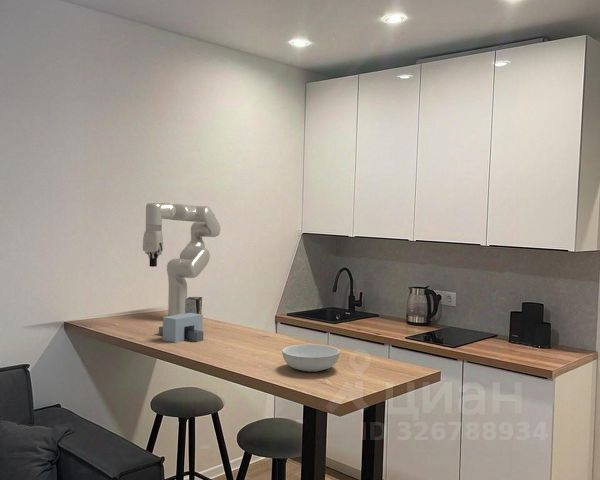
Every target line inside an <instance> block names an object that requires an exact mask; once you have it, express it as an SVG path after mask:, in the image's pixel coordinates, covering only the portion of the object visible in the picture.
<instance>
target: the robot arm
mask: <svg viewBox="0 0 600 480" xmlns="http://www.w3.org/2000/svg"><path fill="white" fill-rule="evenodd" d="M163 220H172V221H179V222H180V221H182V222H191V223H192V224H191V226H190V241H189V243H188V244H187V245H186V246H185V247H184V248H183V250H181V252H180V253H179V258H172V259H171V260H169V261H168V262H167V265H166V272H167V278H168V297H167V298H168V302H167V303H168V304H167V307H168V309H167V310H168V311H167V312H168V313H167V316H173V315H179V314H185V299H187V298H188V284H187V280H186V279H195V278H196V277H198V276H199V275H200V274H201V272H203V270H204V269H206V266H207V265H208V264H209V261H210V258H211V254H210V251H209V250H208V248H206V247H205V246H206V245H205V242H204V240H203V238H204V237H205V238H216V237H218V236H220V233H221V225H220V222H219V221H218V219H217V217H216V215H215V214H214V212H213V210H212V209H211V208H210V206H209V207H208V205H207V206H205V205H188V204H182V203H179V204H178V203H169V202H168V203H167V202H164V203H163V202H150V203H149V202H148V203H146V205H145V231H144V233H143V237H142V251H143V252H144V253H145V254H146V255H147V256H148V259H149V267H150V268H151V267H152V268H153V267H155V268H156V267H157V266H158V259H159V257H160V256H162V254H163V253H162V252H163V250H164V237H163V232H162V225H163V224H162V223H163V222H162V221H163Z"/></svg>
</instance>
